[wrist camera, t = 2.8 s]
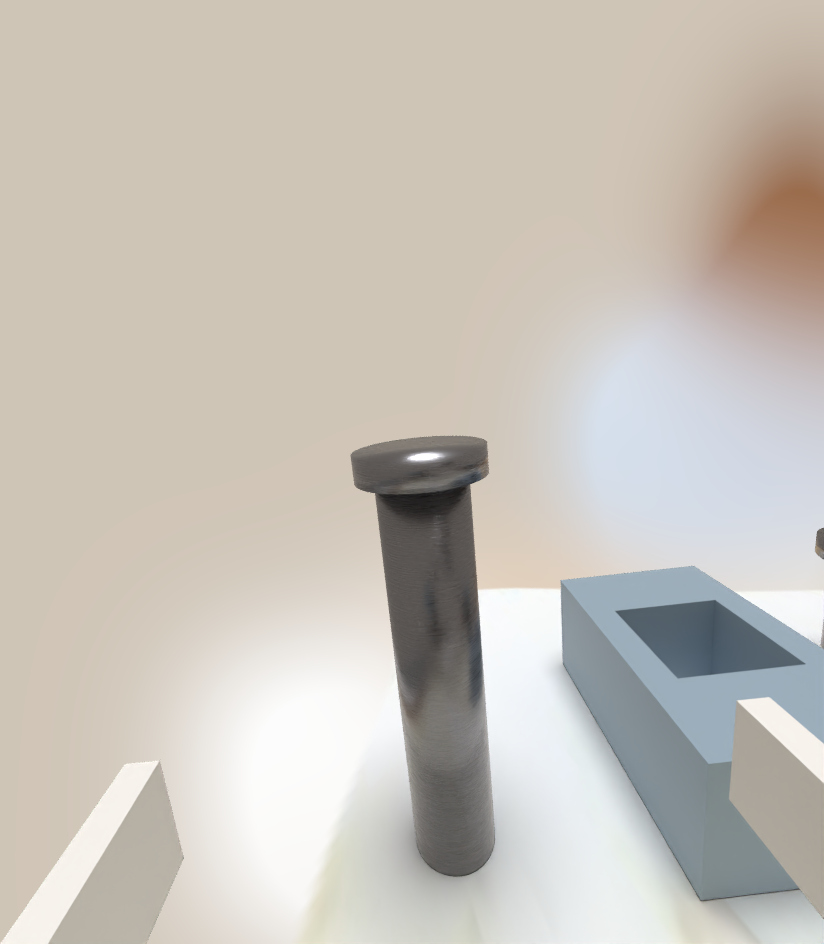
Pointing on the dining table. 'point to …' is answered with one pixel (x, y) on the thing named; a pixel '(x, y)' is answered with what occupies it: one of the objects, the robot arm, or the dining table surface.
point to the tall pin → (436, 637)
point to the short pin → (823, 551)
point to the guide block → (688, 705)
